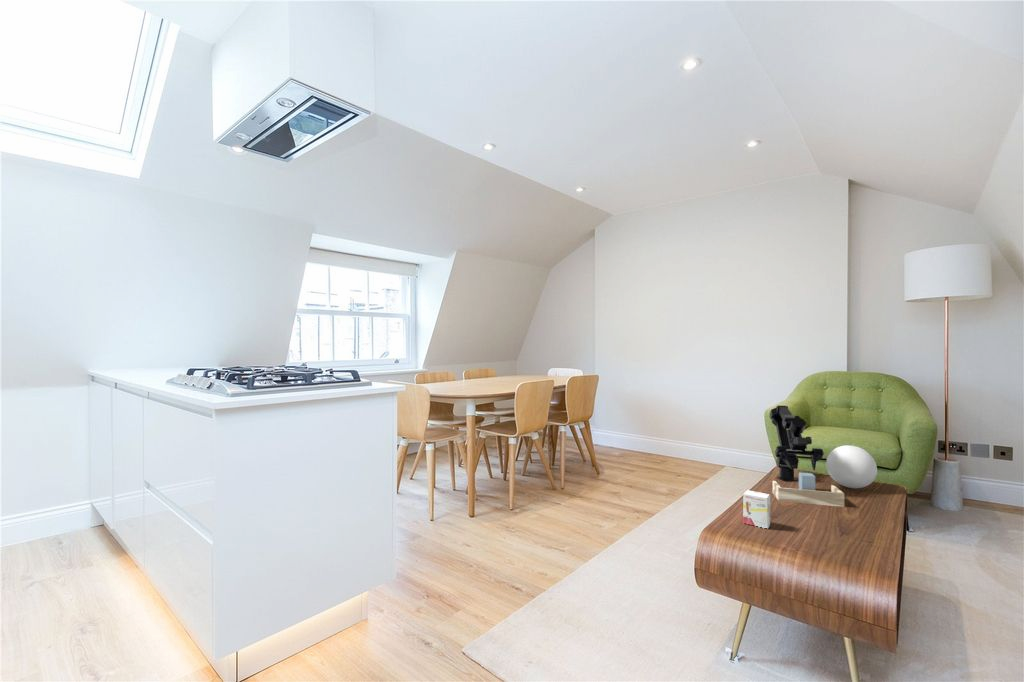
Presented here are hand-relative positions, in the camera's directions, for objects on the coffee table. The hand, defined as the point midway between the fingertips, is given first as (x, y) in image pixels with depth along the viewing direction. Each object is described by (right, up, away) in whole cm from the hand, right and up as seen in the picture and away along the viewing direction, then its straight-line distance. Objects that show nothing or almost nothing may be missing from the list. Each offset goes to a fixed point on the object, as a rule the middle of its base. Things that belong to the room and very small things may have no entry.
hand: (802, 468), depth 210 cm
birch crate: (-2, -12, -6) cm, 14 cm away
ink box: (-39, -12, -34) cm, 52 cm away
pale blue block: (-2, -12, -6) cm, 13 cm away
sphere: (+31, -13, +13) cm, 36 cm away
